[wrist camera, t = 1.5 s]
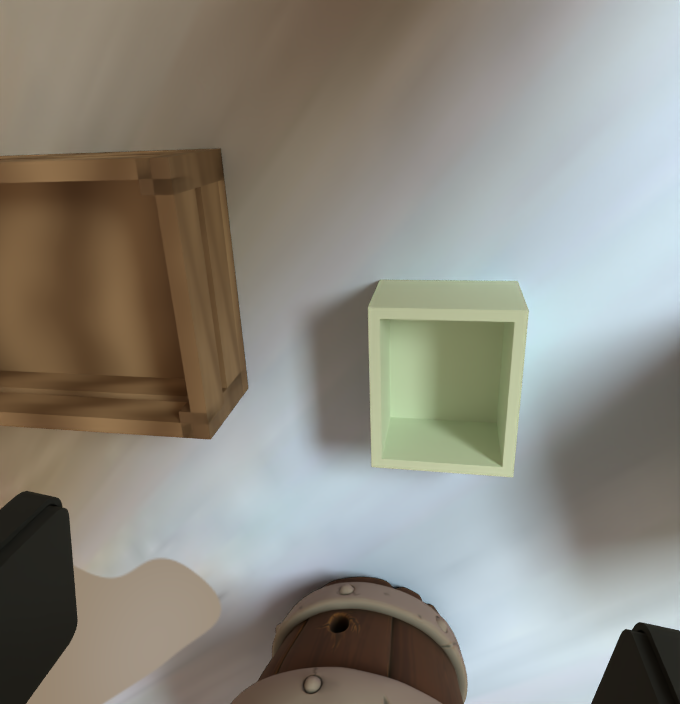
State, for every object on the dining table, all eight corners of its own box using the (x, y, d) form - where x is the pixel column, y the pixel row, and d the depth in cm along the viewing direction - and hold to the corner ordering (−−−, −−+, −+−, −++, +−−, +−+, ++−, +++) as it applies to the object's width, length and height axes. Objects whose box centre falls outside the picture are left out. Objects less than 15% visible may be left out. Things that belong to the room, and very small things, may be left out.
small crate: (517, 279, 27) (528, 310, 22) (504, 426, 30) (513, 477, 26) (380, 278, 28) (367, 307, 24) (382, 420, 31) (371, 467, 27)
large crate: (220, 148, 26) (168, 157, 22) (248, 388, 31) (210, 439, 26) (-78, 158, 29) (-184, 168, 25) (-10, 375, 34) (-87, 419, 29)
